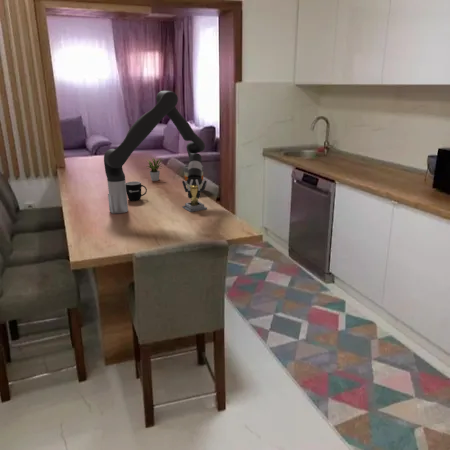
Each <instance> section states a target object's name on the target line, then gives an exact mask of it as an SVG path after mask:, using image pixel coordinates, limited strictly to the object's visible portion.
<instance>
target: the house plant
mask: <svg viewBox="0 0 450 450" xmlns="http://www.w3.org/2000/svg"><path fill="white" fill-rule="evenodd" d="M150 158H151V159H152V161H153V162H151V161H150V160H149V159H147V161H146V160H145V161H146V162H147V163H148V165H146V167H147V168H146V169H147V170H148V169H149V170H150V171H149V175H150V179H151V180H150V181H153V182H157V181H160V170H159V169H162V168H163V166H161V165H162V163H161V162H162V161H163V159H162V157H160V158H158V159H157V160H155V159H156V158H154V157H150Z"/></svg>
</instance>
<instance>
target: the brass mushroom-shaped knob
mask: <svg viewBox="0 0 450 450" xmlns="http://www.w3.org/2000/svg"><path fill="white" fill-rule="evenodd" d="M190 192H191V199H190V202H191V206H194V205H198V201H199V199H198V198H197V193H198V185H190Z"/></svg>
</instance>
